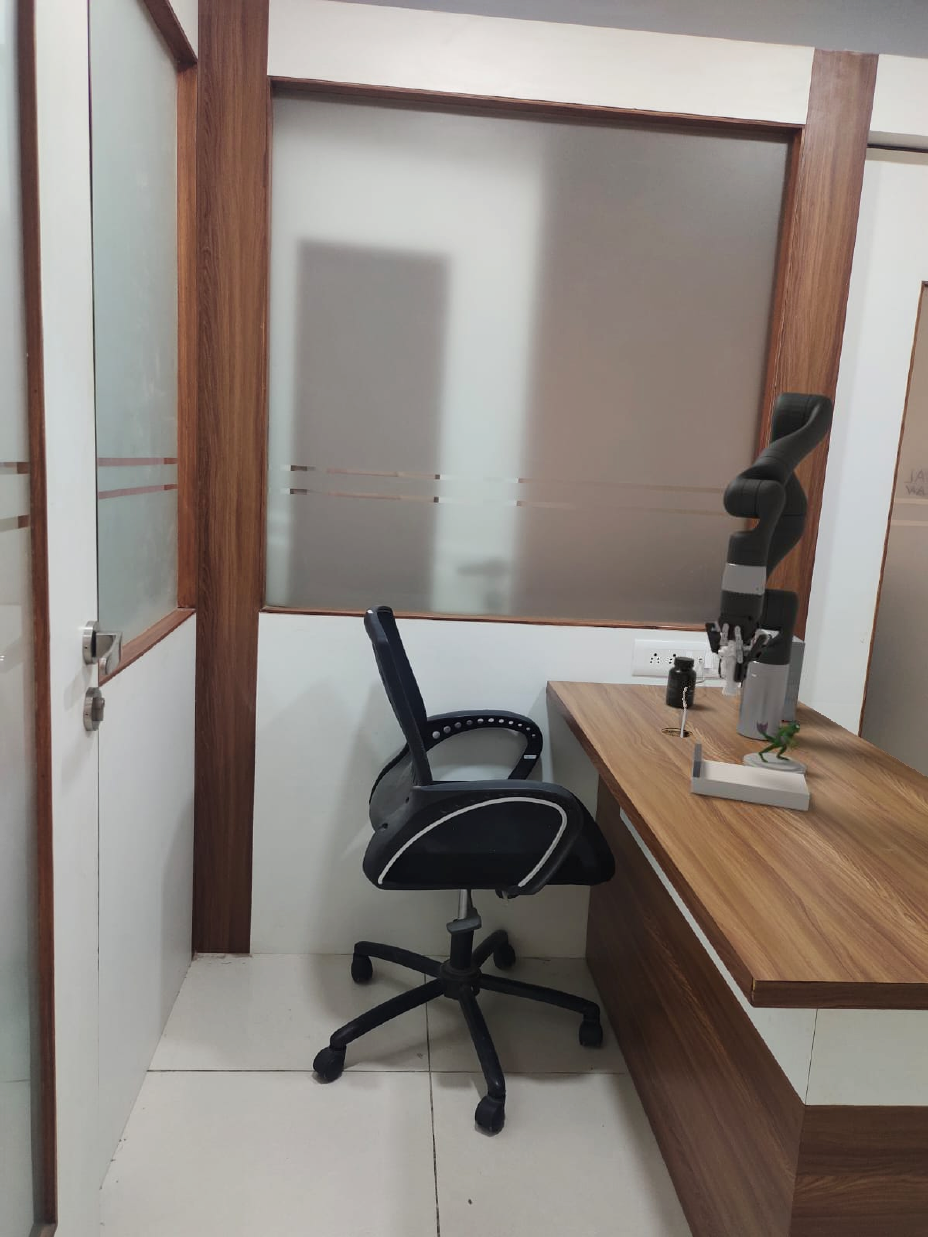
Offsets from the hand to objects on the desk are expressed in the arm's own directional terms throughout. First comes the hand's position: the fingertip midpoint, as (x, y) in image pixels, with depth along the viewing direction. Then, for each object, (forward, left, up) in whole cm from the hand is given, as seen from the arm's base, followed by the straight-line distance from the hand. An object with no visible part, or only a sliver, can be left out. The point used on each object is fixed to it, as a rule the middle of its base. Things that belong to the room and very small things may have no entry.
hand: (731, 679), depth 162 cm
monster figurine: (-13, +11, -20) cm, 26 cm away
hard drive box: (-57, +13, -20) cm, 61 cm away
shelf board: (+5, +5, -19) cm, 21 cm away
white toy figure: (0, 0, -3) cm, 3 cm away
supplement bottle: (-52, -9, -20) cm, 56 cm away
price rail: (+5, -4, -16) cm, 18 cm away
